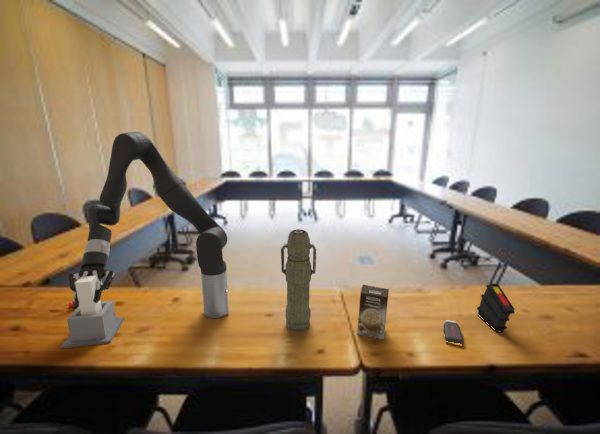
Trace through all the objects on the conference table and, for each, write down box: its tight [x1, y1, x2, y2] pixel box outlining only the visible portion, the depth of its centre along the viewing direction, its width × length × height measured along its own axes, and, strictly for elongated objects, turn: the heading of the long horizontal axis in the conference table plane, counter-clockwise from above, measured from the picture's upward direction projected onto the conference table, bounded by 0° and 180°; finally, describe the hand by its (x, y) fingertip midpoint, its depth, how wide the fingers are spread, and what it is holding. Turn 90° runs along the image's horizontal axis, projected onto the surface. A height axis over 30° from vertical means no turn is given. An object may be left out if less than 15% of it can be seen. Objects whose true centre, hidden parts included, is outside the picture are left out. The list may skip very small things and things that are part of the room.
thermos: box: [280, 228, 317, 332], centre depth 108 cm, size 9×12×35 cm
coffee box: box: [356, 284, 390, 340], centre depth 106 cm, size 9×6×16 cm
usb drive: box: [443, 319, 464, 345], centre depth 107 cm, size 5×12×3 cm, turn 160°
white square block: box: [75, 276, 102, 316], centre depth 103 cm, size 4×4×14 cm
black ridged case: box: [476, 283, 516, 332], centre depth 112 cm, size 4×13×15 cm, turn 3°
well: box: [60, 300, 125, 349], centre depth 105 cm, size 14×14×9 cm
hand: (87, 302), depth 101 cm, fingers closed on white square block, 4 cm apart
